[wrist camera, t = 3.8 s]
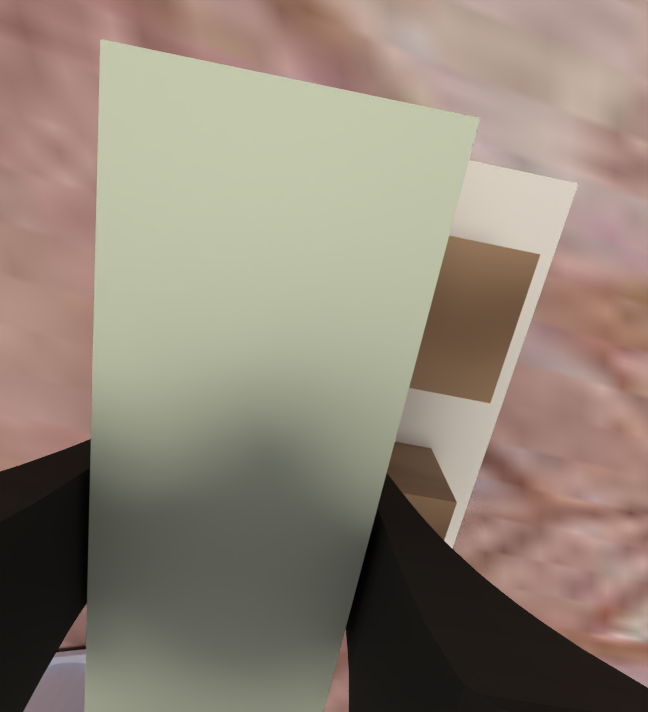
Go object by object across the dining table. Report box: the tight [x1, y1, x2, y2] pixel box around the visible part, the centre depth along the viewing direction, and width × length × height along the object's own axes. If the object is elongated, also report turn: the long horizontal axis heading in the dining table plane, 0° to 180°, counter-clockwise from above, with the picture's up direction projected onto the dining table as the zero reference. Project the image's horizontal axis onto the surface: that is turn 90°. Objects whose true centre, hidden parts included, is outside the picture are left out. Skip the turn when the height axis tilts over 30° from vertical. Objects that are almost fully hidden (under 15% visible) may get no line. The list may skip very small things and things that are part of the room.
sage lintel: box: [84, 39, 480, 712], centre depth 10 cm, size 16×5×5 cm, turn 169°
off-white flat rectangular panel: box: [395, 160, 578, 548], centre depth 18 cm, size 20×10×1 cm, turn 169°
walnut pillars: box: [387, 236, 540, 540], centre depth 16 cm, size 14×5×4 cm, turn 169°
